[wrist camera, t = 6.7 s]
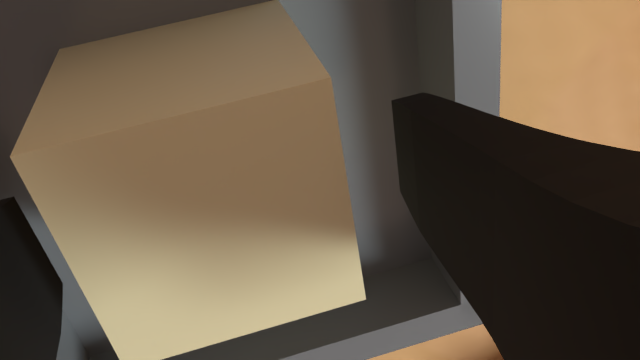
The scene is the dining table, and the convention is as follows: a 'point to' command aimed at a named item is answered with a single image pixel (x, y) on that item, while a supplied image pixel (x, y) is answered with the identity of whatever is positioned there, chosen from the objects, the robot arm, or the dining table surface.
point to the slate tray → (357, 144)
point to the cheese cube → (195, 180)
